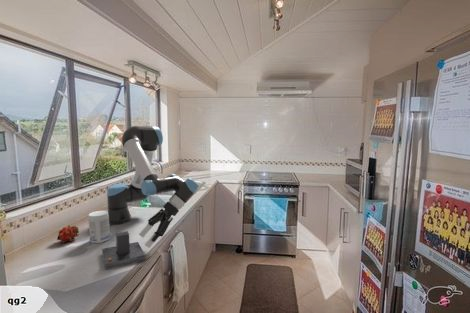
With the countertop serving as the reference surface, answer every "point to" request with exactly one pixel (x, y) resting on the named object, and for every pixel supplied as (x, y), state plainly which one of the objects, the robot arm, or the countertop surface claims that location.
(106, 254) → the socket plate
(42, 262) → the countertop surface
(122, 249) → the plug
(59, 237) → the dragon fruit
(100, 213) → the supplement tub
